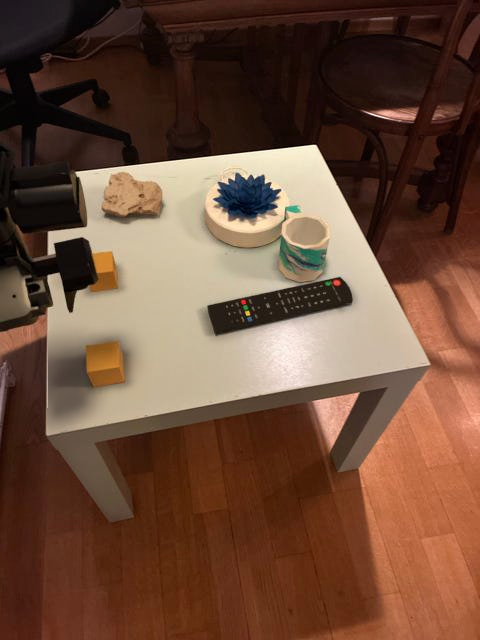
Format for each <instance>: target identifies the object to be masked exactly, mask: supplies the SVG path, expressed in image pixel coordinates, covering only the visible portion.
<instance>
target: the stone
mask: <svg viewBox="0 0 480 640" xmlns="http://www.w3.org/2000/svg"><path fill="white" fill-rule="evenodd" d="M162 203H163V189H162V188H161V186H160V185H159V184H158V183H157V182H154V181H152V180H146V181H141V180H136V179H135V178H134V177H133V176H132V174H130V173H129V172H126V171H120V172H119V171H118V172H117V173H113V174H112V173H111V174H110V176H109V180H108V185H107V186H106V187H105V189H104V191H103V202H102V204H101V211H102V212H103V213H106V214H109V215H114V216H116V217H121V218H122V217H126V216H127V215H128V214H139V215H140V214H141V215H156V216H158V215H161V212H162Z"/></svg>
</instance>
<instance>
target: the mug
mask: <svg viewBox="0 0 480 640" xmlns="http://www.w3.org/2000/svg"><path fill="white" fill-rule="evenodd" d="M330 233H331V227H330V226H329V224H327V222H326V221H325V220H324V219H323V218H322V217H319V216H316V215H313V214H310V213H303V210H302V208H301V206H300V204H297V205H289V206H288V207H285V215H284V222H283V223H282V232H281V236H280V245H279V254H278V255H279V256H278V267H277V268H278V270H279V271H280V273H282V275H283V276H284V277H285V279H289V280H292V281H294V282H298V283H303V282H310V281H315V280H316V279H317V278H318V277H319V276H320V275H322V273H324V268H325V264H326V258H327V253H328V248H329V243H330V239H331V237H330V236H331V234H330Z"/></svg>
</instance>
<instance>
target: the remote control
mask: <svg viewBox="0 0 480 640" xmlns="http://www.w3.org/2000/svg"><path fill="white" fill-rule="evenodd" d="M353 300H354V298H353V293H352V290H351V287H350V286H349V285H348V283H347V282H346V281H345V280H344V279H343V278H342V276H337V277H332V278H328V279H323V280H318V281H313V282H309V283H305V284H300V285H296V286H291V287H286V288H282V289H277V290H273V291H269V292H268V291H267V292H263V293H258V294H254V295H249V296H243V297H240V298H235V299H230V300H226V301H222V302H217V303H211V304H207V306H206V307H207V308H206V309H207V313H208V316H209V319H210V320H209V321H210V323H211V327H212V329H213V331H214V334H215V335H217V334H222V333H226V332H230V331H234V330H239V329H244V328H248V327H249V328H250V327H253V326H258V325H261V324H265V323H271V322H273V321H274V322H275V321H279V320H283V319H287V318H292V317H296V316H301V315H306V314H309V313H314V312H320V311H322V310H328V309H331V308H336V307H340V306H345V305H351V304H353Z"/></svg>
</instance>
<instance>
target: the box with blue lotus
mask: <svg viewBox="0 0 480 640" xmlns="http://www.w3.org/2000/svg"><path fill="white" fill-rule="evenodd" d="M231 169H232V170H234V169H236V170H242V171H244V172H245V173H246V174H243V173H241V172H237V171H233V172H232V171H231V172H227V173H225V174H224V172H226V171H229V170H231ZM223 174H224V175H223ZM230 175H232V176H230ZM219 176H220V181H217V182H216V183H215V184H214V185H212V187H211V188H210V189H209V190H208V191H207V193H206V195H205V198H204V210H205V223H206V226H207V228H208V230H209V232H210V233H211V234H212V236H214V237H215V238H216V239H218V240H219V241H221V242H222V243H225V244H227V245H230V246H233V247H237V248H246V249H247V248H249V249H250V248H257V247H259V248H260V247H262V246H265V245H268V244H271V243H272V242H274V241H276V240H277V239H278V238H281V232H282V223H283V222H284V215H285V207H288V206H290V199H289V197H288V194H287V193H286V191H285V190H284V189H283V187H281V186H280V185H279V184H277V183H276V182H275V181H273V180H271V179H269V178H266V176H265V174H263V173H262V175H253V174H250V173H249V172H248V170H247V169H246V168H244V167H241V166H229V167H226V168H224V169H222V170H221V172H220V175H219ZM228 176H229V177H228Z"/></svg>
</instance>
